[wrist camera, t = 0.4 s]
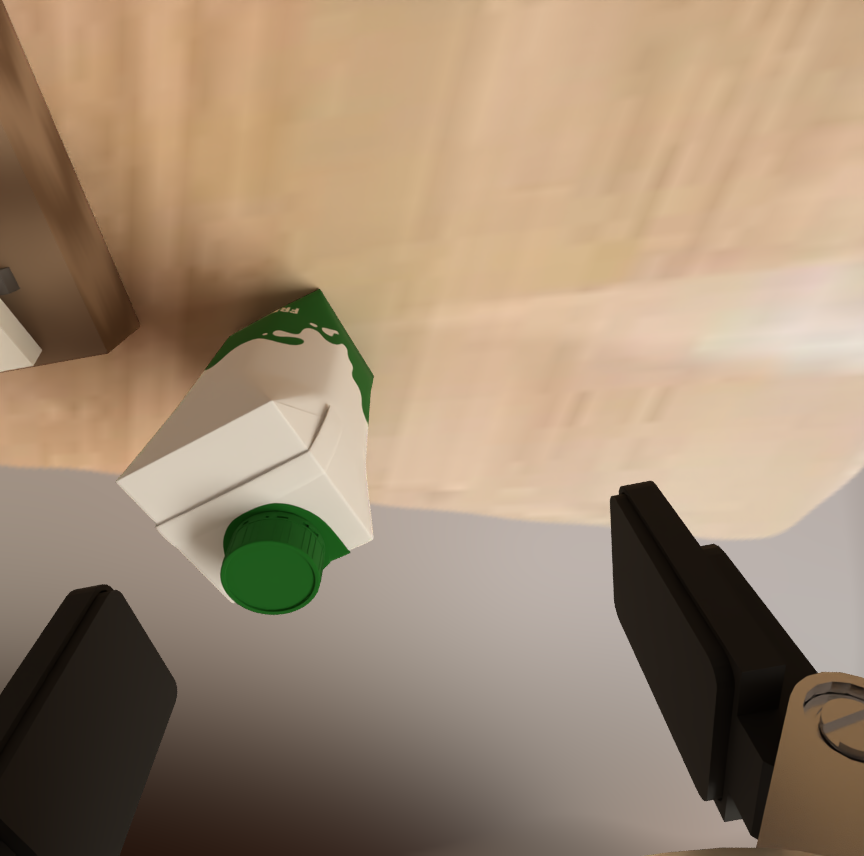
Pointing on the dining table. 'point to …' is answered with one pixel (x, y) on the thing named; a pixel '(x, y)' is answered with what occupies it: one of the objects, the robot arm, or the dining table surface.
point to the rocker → (15, 342)
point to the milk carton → (266, 460)
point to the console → (50, 229)
